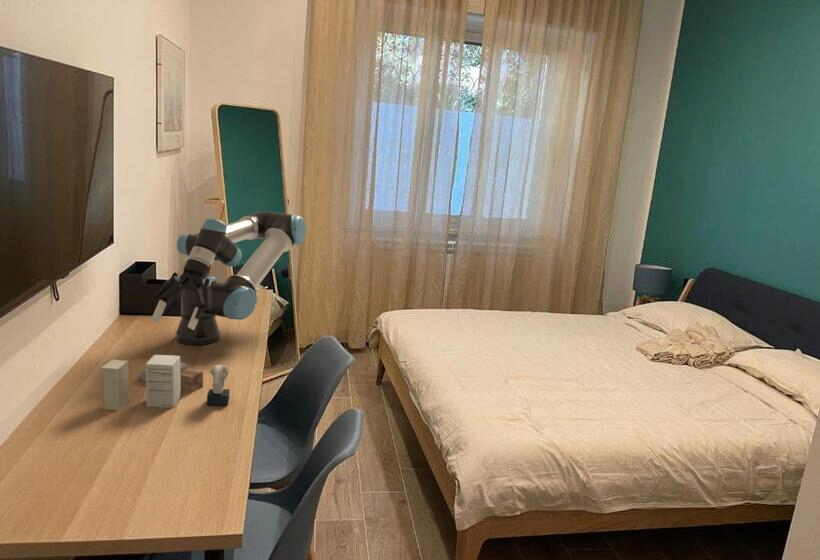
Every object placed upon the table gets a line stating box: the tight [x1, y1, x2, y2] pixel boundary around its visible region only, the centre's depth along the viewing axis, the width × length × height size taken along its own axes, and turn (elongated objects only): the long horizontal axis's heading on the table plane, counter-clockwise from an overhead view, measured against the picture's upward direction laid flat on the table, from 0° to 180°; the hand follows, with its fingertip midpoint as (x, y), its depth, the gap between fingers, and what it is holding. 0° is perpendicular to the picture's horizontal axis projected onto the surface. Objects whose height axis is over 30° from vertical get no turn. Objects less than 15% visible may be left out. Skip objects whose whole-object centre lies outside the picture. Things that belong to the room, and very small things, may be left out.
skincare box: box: [100, 358, 130, 411], centre depth 160 cm, size 6×4×12 cm
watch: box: [206, 364, 231, 407], centre depth 167 cm, size 6×8×11 cm
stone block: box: [140, 361, 188, 382], centre depth 183 cm, size 12×5×10 cm
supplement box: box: [145, 354, 182, 409], centre depth 165 cm, size 7×7×13 cm
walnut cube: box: [180, 367, 204, 394], centre depth 176 cm, size 5×5×5 cm
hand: (172, 324), depth 183 cm, fingers open, 13 cm apart
